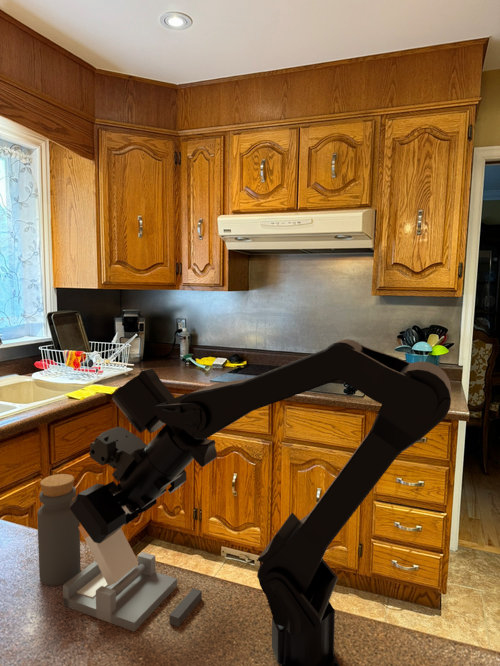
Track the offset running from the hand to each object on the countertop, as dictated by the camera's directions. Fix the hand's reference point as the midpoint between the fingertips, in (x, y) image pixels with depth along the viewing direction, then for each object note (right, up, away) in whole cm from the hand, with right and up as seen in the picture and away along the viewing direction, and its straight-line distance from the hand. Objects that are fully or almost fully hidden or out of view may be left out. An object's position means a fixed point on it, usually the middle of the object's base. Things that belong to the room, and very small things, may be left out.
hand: (103, 523), depth 66 cm
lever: (+4, -8, -1) cm, 9 cm away
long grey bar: (+12, -10, -4) cm, 17 cm away
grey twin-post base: (+4, -10, -1) cm, 11 cm away
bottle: (-8, -10, +4) cm, 13 cm away
